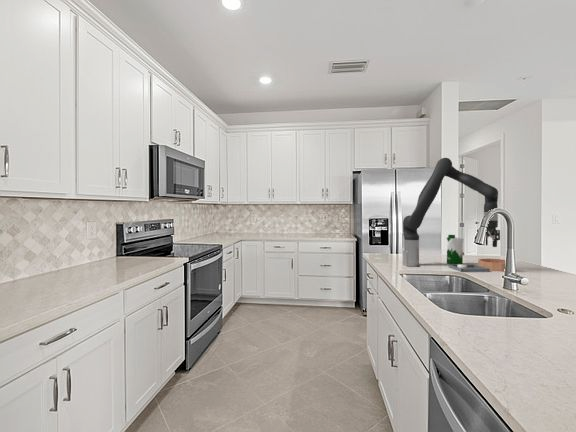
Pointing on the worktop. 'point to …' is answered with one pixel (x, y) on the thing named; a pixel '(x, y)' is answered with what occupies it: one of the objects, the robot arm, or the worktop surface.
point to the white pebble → (462, 266)
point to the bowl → (492, 264)
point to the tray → (470, 268)
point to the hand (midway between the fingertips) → (489, 246)
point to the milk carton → (454, 250)
